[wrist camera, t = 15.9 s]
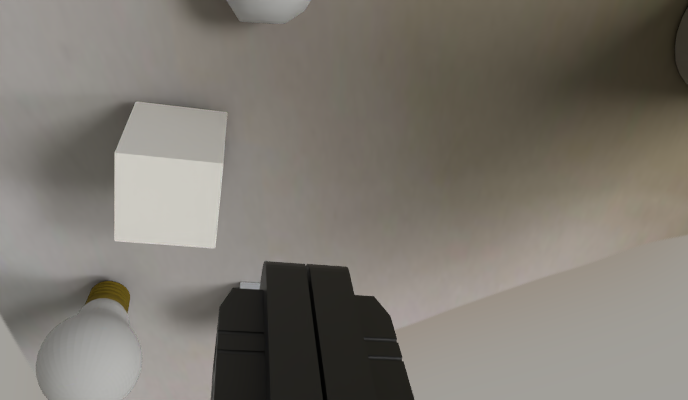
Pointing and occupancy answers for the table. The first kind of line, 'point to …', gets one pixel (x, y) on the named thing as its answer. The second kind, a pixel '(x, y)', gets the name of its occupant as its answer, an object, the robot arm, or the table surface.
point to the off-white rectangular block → (169, 176)
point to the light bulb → (92, 350)
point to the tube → (267, 10)
